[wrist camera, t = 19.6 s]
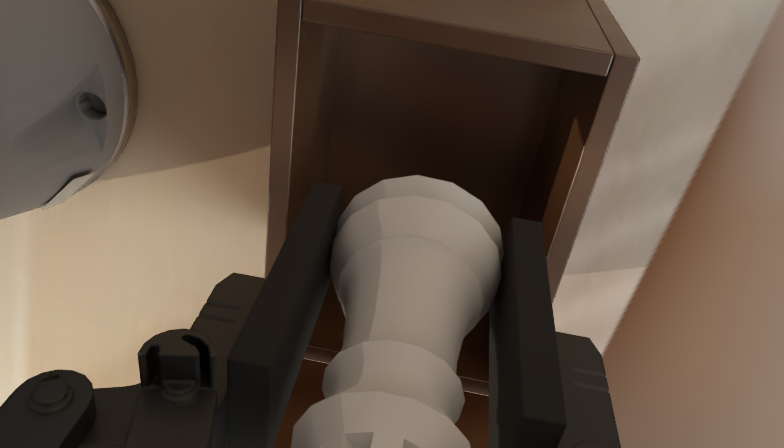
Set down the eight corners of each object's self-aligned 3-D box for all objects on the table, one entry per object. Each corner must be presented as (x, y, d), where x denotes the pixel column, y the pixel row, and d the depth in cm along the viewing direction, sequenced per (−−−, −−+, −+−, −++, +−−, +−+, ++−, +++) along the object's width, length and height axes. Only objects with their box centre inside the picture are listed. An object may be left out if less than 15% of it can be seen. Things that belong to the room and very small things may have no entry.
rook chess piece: (309, 197, 17) (188, 440, 10) (469, 142, 16) (450, 382, 9) (378, 322, 19) (315, 597, 12) (526, 284, 18) (547, 569, 11)
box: (334, -53, 28) (277, -9, 21) (601, -5, 28) (641, 58, 20) (307, 242, 36) (260, 349, 29) (512, 282, 36) (517, 401, 29)
